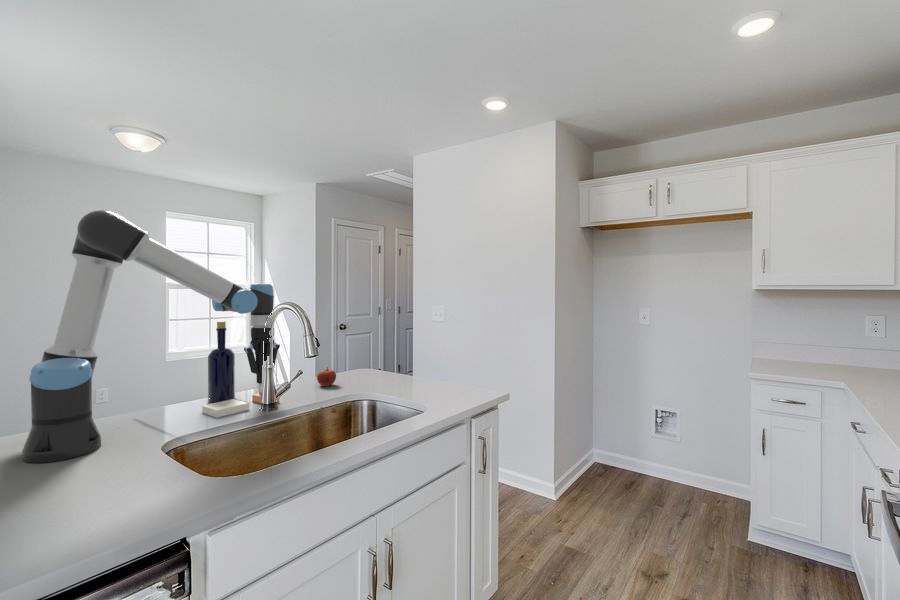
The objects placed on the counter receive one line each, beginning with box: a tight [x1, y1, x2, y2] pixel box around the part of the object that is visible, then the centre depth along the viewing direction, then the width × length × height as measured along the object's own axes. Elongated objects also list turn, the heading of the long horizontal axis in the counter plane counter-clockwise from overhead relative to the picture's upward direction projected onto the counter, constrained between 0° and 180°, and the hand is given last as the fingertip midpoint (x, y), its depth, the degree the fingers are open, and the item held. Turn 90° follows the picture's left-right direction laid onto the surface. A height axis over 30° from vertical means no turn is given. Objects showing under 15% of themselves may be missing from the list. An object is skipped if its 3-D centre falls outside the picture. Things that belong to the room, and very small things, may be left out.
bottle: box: [207, 320, 236, 404], centre depth 158 cm, size 9×9×30 cm
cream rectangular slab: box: [201, 397, 250, 418], centre depth 145 cm, size 11×9×2 cm
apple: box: [316, 367, 337, 387], centre depth 188 cm, size 8×8×8 cm
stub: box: [251, 391, 280, 405], centre depth 157 cm, size 5×9×6 cm, turn 55°
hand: (262, 391), depth 156 cm, fingers closed
